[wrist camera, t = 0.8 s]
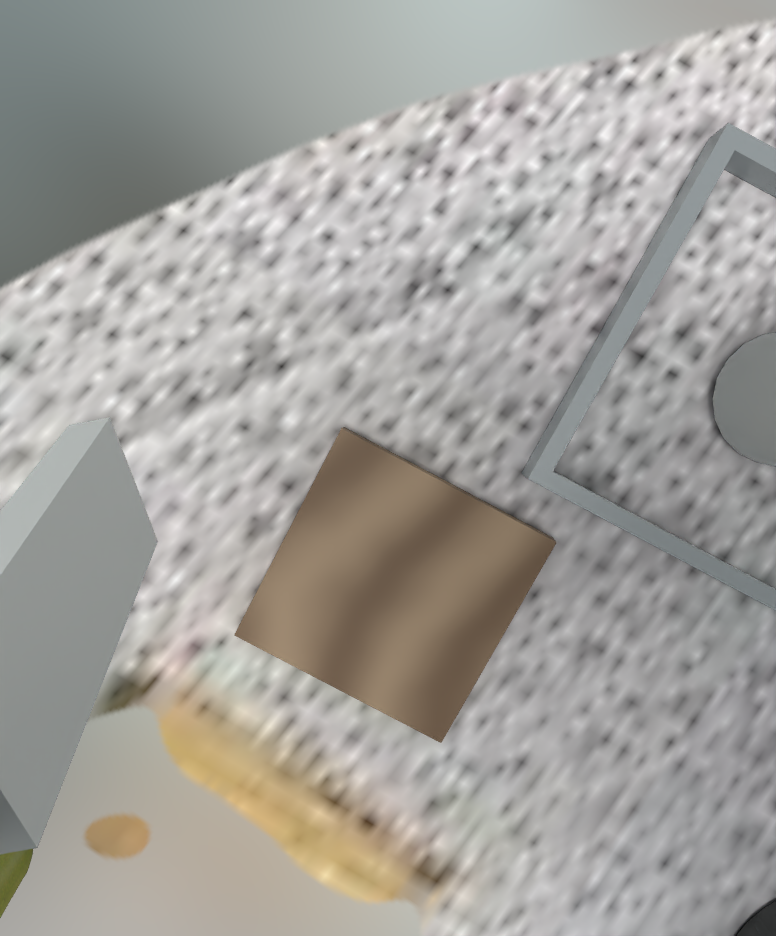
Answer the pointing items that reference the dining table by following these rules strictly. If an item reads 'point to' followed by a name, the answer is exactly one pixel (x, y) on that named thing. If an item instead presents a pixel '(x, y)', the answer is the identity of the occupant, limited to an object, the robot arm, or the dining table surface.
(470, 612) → the pad
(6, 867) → the plant pot
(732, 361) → the can
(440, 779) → the dining table surface
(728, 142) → the gray square frame
